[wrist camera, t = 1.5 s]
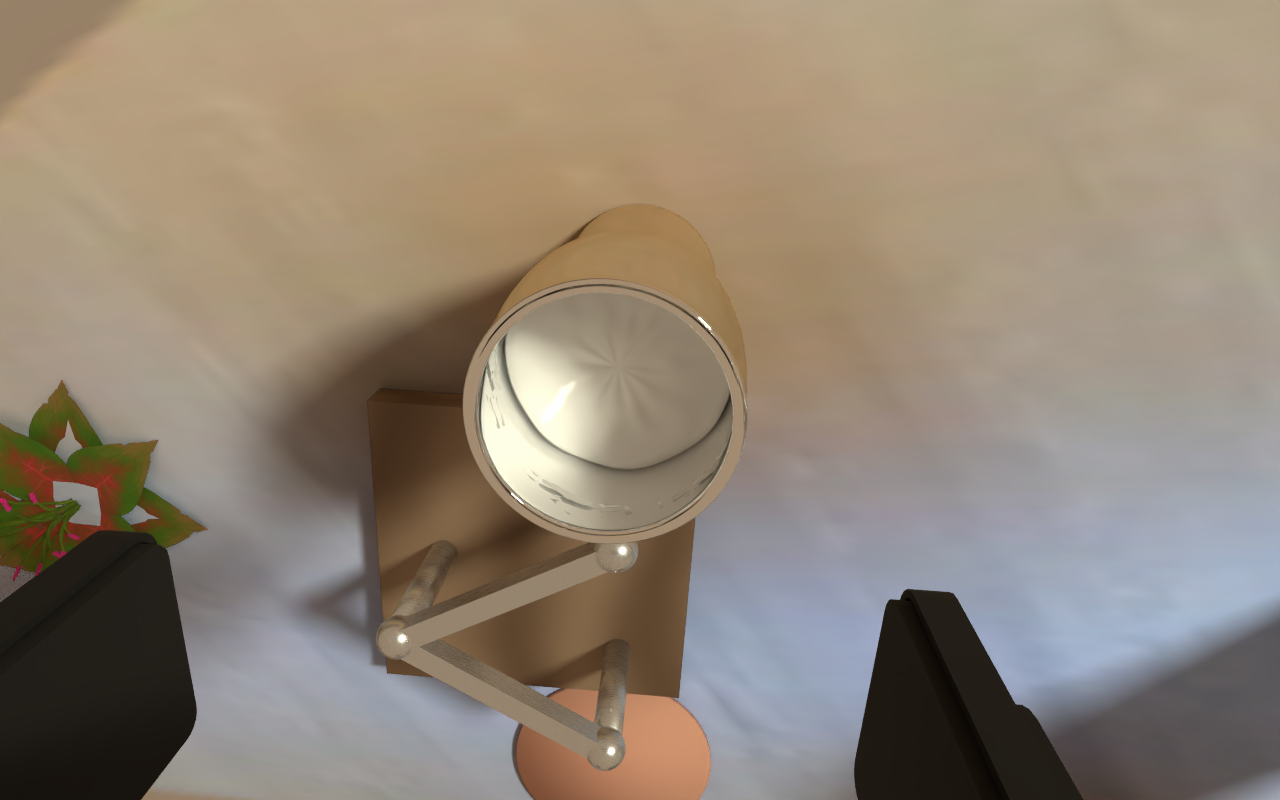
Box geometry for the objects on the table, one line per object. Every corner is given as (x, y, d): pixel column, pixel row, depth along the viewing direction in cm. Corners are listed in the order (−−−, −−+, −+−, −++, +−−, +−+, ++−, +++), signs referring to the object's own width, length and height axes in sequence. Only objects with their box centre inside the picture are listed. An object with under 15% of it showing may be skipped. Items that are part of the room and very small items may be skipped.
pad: (718, 688, 39) (719, 692, 39) (701, 837, 43) (701, 842, 42) (517, 671, 39) (516, 675, 39) (517, 820, 43) (516, 825, 43)
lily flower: (-92, 468, 38) (-192, 515, 33) (67, 330, 35) (-21, 362, 30) (98, 643, 41) (29, 707, 37) (259, 530, 38) (204, 584, 34)
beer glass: (593, 384, 34) (526, 585, 20) (527, 229, 32) (399, 332, 18) (749, 329, 32) (796, 503, 18) (692, 164, 30) (696, 219, 16)
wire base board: (703, 412, 34) (703, 425, 32) (679, 676, 39) (678, 697, 37) (380, 388, 34) (367, 400, 33) (397, 652, 39) (386, 673, 38)
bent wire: (647, 458, 33) (638, 544, 27) (634, 664, 37) (623, 782, 31) (421, 442, 33) (358, 522, 27) (430, 648, 37) (378, 760, 31)
